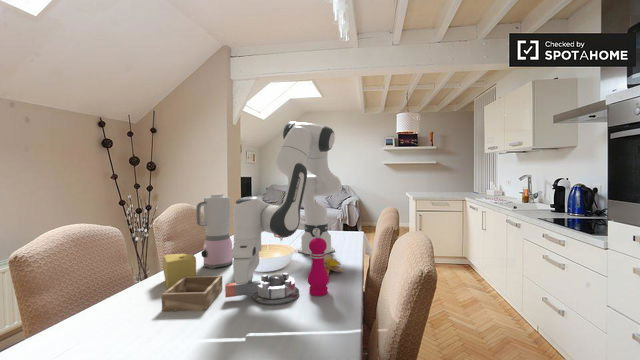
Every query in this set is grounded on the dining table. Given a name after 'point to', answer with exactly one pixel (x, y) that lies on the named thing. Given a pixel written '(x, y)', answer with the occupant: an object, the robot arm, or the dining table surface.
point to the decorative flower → (331, 264)
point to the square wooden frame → (192, 293)
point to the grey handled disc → (262, 288)
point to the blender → (216, 230)
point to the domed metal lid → (276, 281)
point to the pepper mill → (318, 267)
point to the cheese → (178, 267)
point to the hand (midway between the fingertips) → (248, 287)
